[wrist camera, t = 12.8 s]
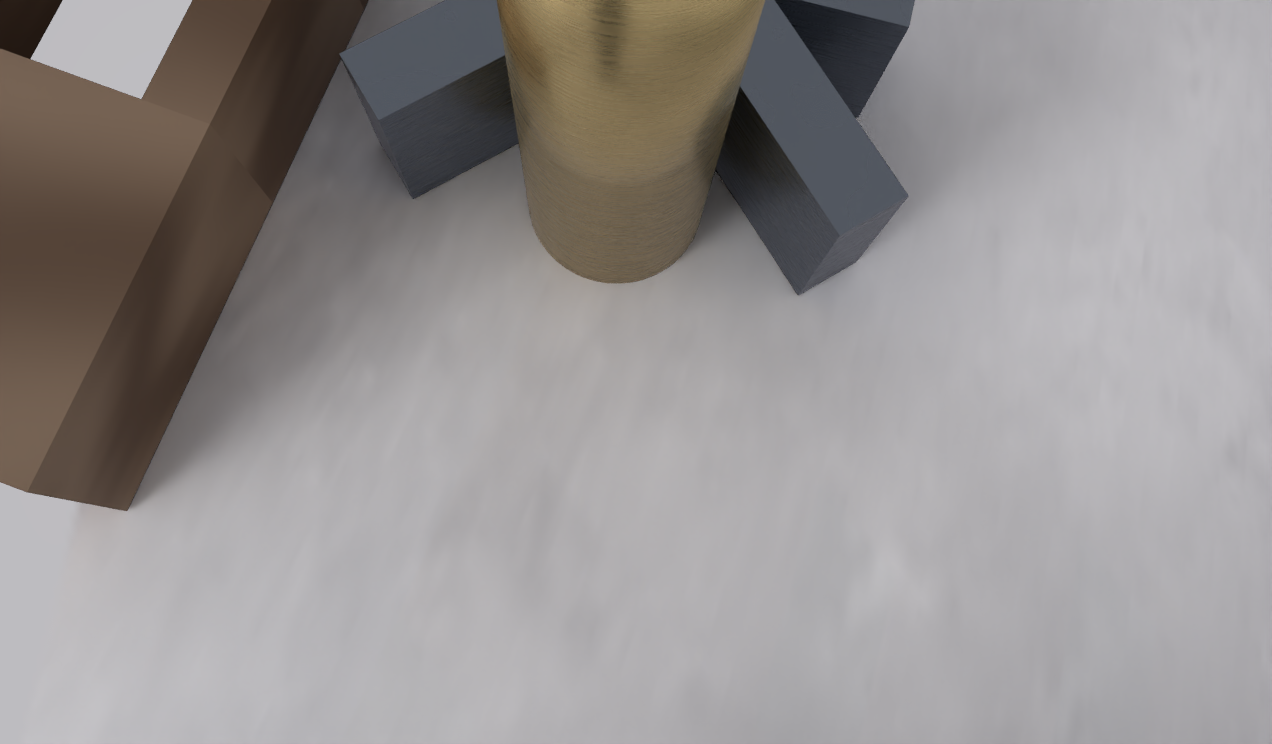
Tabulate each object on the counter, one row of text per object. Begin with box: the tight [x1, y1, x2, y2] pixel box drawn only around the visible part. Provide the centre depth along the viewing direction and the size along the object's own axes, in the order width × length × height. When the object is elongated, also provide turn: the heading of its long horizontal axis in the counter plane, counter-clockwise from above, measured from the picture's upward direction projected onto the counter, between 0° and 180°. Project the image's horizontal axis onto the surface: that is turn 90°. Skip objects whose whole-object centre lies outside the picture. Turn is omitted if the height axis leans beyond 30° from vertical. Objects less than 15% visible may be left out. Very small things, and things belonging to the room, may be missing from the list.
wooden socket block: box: [0, 0, 368, 511], centre depth 22 cm, size 14×8×4 cm, turn 160°
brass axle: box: [497, 0, 765, 283], centre depth 17 cm, size 4×4×14 cm
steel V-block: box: [339, 0, 915, 295], centre depth 22 cm, size 7×11×4 cm, turn 76°
